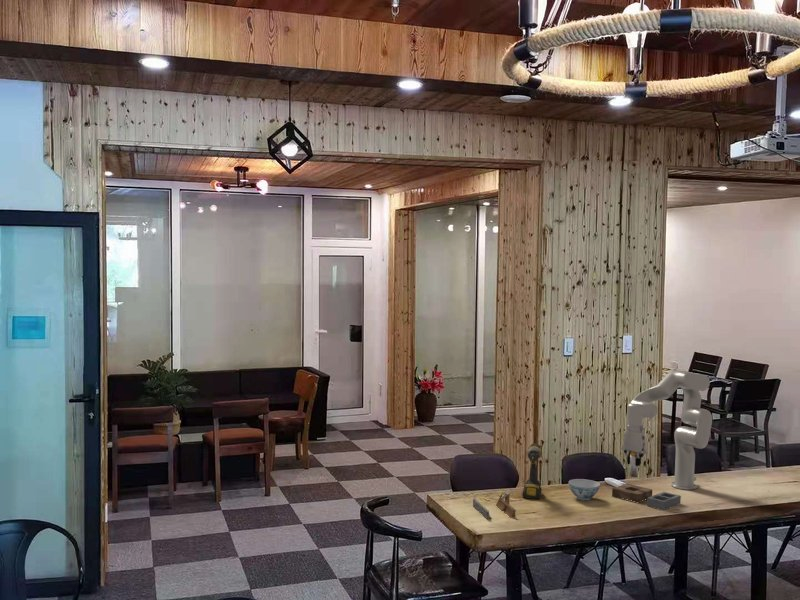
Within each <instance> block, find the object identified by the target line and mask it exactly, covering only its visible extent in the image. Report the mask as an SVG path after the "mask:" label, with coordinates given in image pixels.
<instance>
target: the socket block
mask: <svg viewBox="0 0 800 600" xmlns="http://www.w3.org/2000/svg"><path fill="white" fill-rule="evenodd" d="M611 491H612V492H611V497H613V496H614V498H617V497H619V498H618V499H621V498H624V499H623V500H625V499H628V500H632V501H635V502H634V503H636V502H639V503H641V502H643V501H642V500H644V501H646V500H645V499H647V498H648V497H651V496H653V489H652V488H647V487H644V486H640V485H639V486H638V485H635V484H630V483H625V484H621V485H618V486H615V487H612V489H611ZM628 500H627V501H628ZM632 501H631V502H632ZM640 501H641V502H640Z"/></svg>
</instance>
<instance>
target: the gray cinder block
mask: <svg viewBox="0 0 800 600" xmlns="http://www.w3.org/2000/svg"><path fill="white" fill-rule="evenodd" d="M681 500H682V497H681V495H679V494H675V493H671V492H668V491H667V492H666V491H662V492H659V493H657V494H654V495H653V494H652V496H651V497H648V498H647V501H646V507H649V506H651V507H650V508H653V507H655V508H654V509H657V508H659V509H658V510H661V509H662V510H661V511H666V510H668V508H669V509H671V508H674V507H676V506H678V504H679V505H681ZM673 506H674V507H673ZM670 507H671V508H670Z"/></svg>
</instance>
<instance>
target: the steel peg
mask: <svg viewBox="0 0 800 600" xmlns="http://www.w3.org/2000/svg"><path fill="white" fill-rule="evenodd" d="M636 458H637V453H636V452H634V451H631V452H630V464H629V477H631V478H638V476H639V466H636Z"/></svg>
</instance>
